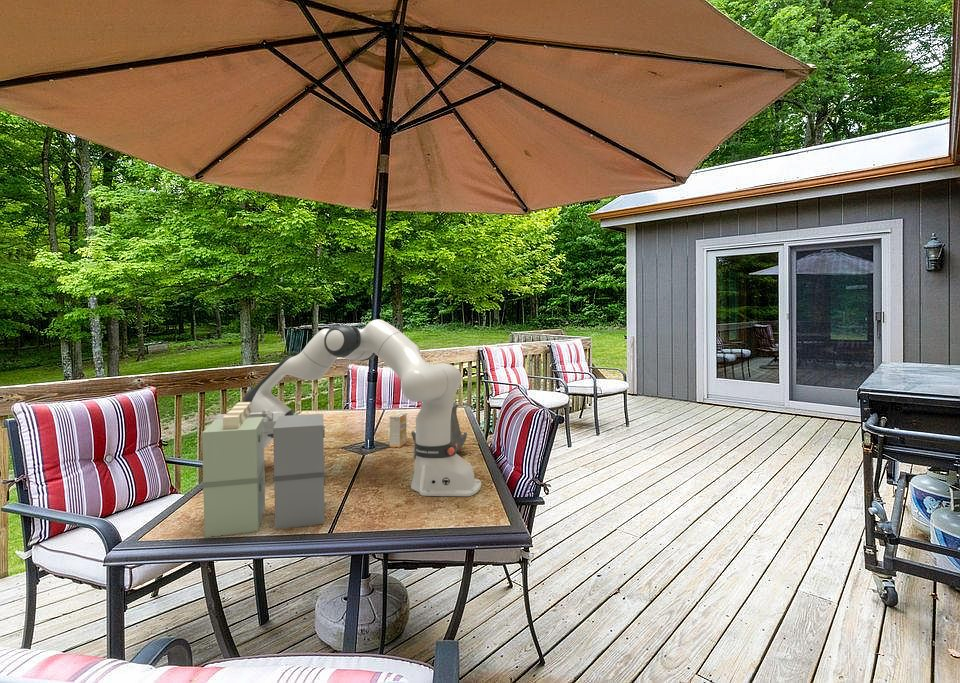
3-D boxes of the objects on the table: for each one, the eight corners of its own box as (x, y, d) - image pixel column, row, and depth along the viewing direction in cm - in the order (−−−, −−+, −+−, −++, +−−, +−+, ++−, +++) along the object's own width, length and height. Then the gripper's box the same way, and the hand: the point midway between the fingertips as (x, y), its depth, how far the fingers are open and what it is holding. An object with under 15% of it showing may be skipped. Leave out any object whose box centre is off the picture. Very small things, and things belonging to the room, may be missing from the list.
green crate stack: (217, 512, 136) (214, 419, 135) (266, 507, 140) (264, 416, 139) (203, 538, 121) (200, 432, 119) (259, 531, 125) (257, 429, 123)
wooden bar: (238, 412, 145) (238, 402, 145) (251, 411, 146) (251, 401, 146) (223, 429, 123) (222, 417, 123) (238, 428, 124) (238, 416, 124)
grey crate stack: (279, 506, 141) (277, 416, 140) (325, 501, 145) (324, 413, 144) (273, 529, 126) (271, 428, 124) (325, 523, 129) (324, 425, 128)
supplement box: (400, 448, 204) (400, 416, 204) (389, 447, 205) (389, 416, 205) (407, 443, 212) (407, 412, 212) (396, 442, 213) (396, 412, 213)
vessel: (462, 444, 210) (462, 397, 209) (469, 459, 188) (469, 407, 187) (411, 446, 207) (411, 399, 206) (411, 461, 185) (411, 408, 184)
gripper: (219, 419, 162) (211, 404, 150) (286, 416, 168) (283, 401, 156) (217, 438, 159) (209, 424, 147) (286, 434, 165) (282, 421, 154)
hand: (248, 413), depth 152 cm, fingers open, 8 cm apart
